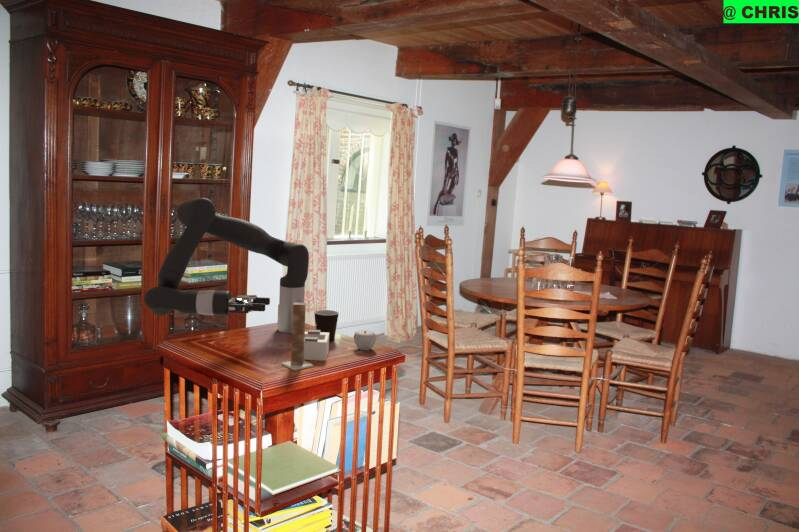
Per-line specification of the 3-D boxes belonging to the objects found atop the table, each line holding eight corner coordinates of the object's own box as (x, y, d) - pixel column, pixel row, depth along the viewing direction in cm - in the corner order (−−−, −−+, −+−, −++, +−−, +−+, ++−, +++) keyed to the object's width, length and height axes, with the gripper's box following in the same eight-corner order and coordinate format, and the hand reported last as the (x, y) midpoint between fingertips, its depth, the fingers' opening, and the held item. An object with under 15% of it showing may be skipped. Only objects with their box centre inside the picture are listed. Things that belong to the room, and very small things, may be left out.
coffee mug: (333, 343, 229) (334, 316, 228) (310, 341, 231) (311, 313, 230) (342, 336, 241) (343, 309, 239) (320, 333, 242) (321, 307, 241)
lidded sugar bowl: (377, 347, 228) (378, 329, 227) (373, 353, 220) (374, 334, 219) (355, 345, 229) (356, 327, 228) (350, 351, 221) (351, 332, 220)
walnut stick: (290, 365, 200) (292, 304, 197) (292, 361, 203) (294, 302, 201) (302, 365, 200) (304, 305, 197) (303, 362, 203) (305, 302, 201)
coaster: (281, 364, 202) (281, 362, 202) (300, 361, 207) (300, 359, 206) (294, 370, 197) (294, 368, 197) (313, 366, 201) (313, 364, 201)
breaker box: (294, 359, 208) (295, 338, 207) (299, 348, 221) (299, 328, 220) (325, 360, 209) (326, 340, 208) (328, 349, 222) (329, 330, 221)
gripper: (207, 295, 191) (263, 297, 191) (219, 286, 205) (271, 287, 205) (208, 320, 192) (263, 322, 192) (219, 309, 206) (271, 310, 207)
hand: (267, 304), depth 199 cm, fingers open, 8 cm apart
